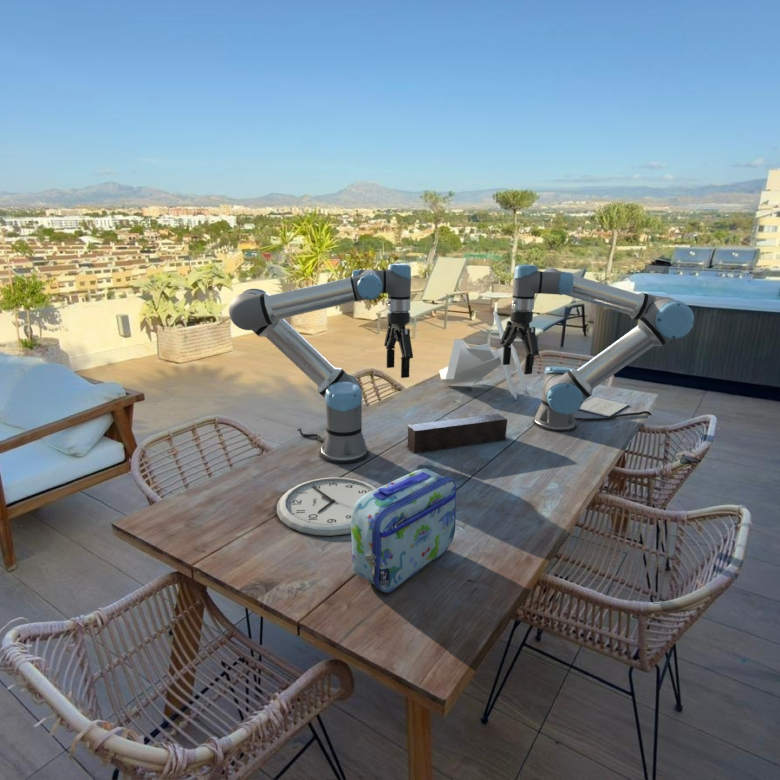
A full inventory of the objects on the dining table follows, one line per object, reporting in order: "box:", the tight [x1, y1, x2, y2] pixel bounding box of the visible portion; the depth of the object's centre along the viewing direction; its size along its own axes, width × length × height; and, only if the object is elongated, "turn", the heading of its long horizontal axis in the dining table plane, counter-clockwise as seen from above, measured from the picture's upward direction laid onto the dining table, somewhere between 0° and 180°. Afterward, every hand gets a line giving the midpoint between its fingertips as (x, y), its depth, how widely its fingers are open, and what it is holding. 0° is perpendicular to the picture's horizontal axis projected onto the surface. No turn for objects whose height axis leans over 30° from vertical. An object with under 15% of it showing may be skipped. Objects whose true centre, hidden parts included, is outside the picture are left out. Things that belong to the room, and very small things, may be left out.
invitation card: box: [579, 396, 629, 417], centre depth 226 cm, size 21×1×15 cm
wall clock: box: [276, 476, 378, 537], centre depth 142 cm, size 30×2×30 cm
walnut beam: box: [407, 413, 508, 454], centre depth 184 cm, size 36×6×8 cm, turn 111°
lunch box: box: [350, 468, 457, 593], centre depth 114 cm, size 26×11×21 cm, turn 134°
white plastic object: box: [438, 310, 531, 400], centre depth 245 cm, size 37×45×31 cm
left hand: (397, 372), depth 182 cm, fingers open, 13 cm apart
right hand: (516, 369), depth 188 cm, fingers open, 13 cm apart
